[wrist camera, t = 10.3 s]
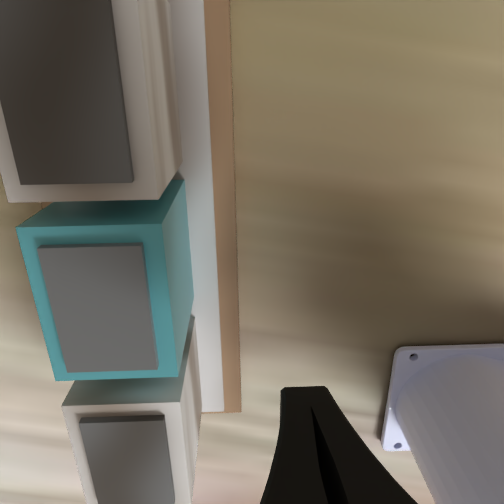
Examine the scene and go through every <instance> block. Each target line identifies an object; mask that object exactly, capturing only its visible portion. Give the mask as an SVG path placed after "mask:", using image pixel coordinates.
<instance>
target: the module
mask: <svg viewBox="0 0 504 504" xmlns="http://www.w3.org/2000/svg"><path fill="white" fill-rule="evenodd" d="M15 228H16V232H17V235H18V239H19V243H20V247H21V251H22V254H23V258H24V262H25V266H26V270H27V274H28V277H29V281H30V285H31V289H32V293H33V296H34V300H35V304H36V308H37V312H38V316H39V319H40V323H41V327H42V331H43V335H44V338H45V342H46V346H47V350H48V354H49V358H50V361H51V365H52V369H53V373H54V377H55V380H56V381H71V380H100V379H129V378H158V377H178V376H179V371H180V366H181V361H182V356H183V351H184V346H185V340H186V335H187V330H188V325H189V320H190V315H191V310H192V305H193V300H194V288H193V276H192V264H191V252H190V239H189V227H188V215H187V203H186V191H185V180H171V181H170V182H169V184H168V186H167V187H166V189H165V190H164V192H163V193H162V195H161V196H160V198H159V199H158V200H113V201H65V202H53V203H51V204H50V205H48V206H47V207H45V208H44V209H42V210H41V211H39V212H38V213H36V214H35V215H33V216H32V217H30V218H29V219H27V220H26V221H24V222H23V223H21V224H20V225H18V226H17V227H15Z"/></svg>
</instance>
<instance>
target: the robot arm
mask: <svg viewBox="0 0 504 504" xmlns="http://www.w3.org/2000/svg"><path fill="white" fill-rule="evenodd" d="M414 353H415V355H414V356H411V357H410V355H411V354H414ZM381 445H382V448H383V449H384V450H386V451H406V450H411V452H412V454H413V456H414V458H415V460H416V463H417V465H418V467H419V469H420V471H421V473H422V475H423V478H424V480H425V482H426V484H427V486H428V488H429V490H430V493H431V495H432V497H433V499H434V501H435V503H436V504H504V344H471V345H439V346H407V347H400V348H398V349H397V350H396V351H395V354H394V360H393V366H392V373H391V379H390V386H389V392H388V398H387V405H386V411H385V418H384V424H383V430H382V437H381ZM260 504H418V503H417V502H416V501H415V500H414V499H413V498H412V497H411V496H410V495H409V494H408V493H407V492H406V491H405V490H404V489H403V488H402V487H401V486H400V485H399V484H398V483H397V481H396V480H395V479H394V478H393V477H392V476H391V475H390V474H389V472H388V471H387V470H386V469H385V468H384V467H383V465H382V464H381V463H380V462H379V461H378V459H377V458H376V457H375V456H374V455H373V453H372V452H371V451H370V450H369V448H368V447H367V446H366V444H365V443H364V442H363V440H362V439H361V438H360V436H359V435H358V434H357V432H356V431H355V430H354V428H353V427H352V426H351V424H350V423H349V421H348V420H347V418H346V417H345V415H344V414H343V413H342V411H341V410H340V408H339V406H338V405H337V403H336V402H335V400H334V399H333V397H332V395H331V394H330V392H329V390H328V389H327V388H326V387H325V386H311V387H284V388H283V389H282V390H281V402H280V429H279V435H278V440H277V446H276V450H275V454H274V458H273V462H272V466H271V470H270V474H269V477H268V480H267V484H266V487H265V490H264V493H263V496H262V499H261V502H260Z"/></svg>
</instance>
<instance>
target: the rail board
mask: <svg viewBox="0 0 504 504" xmlns="http://www.w3.org/2000/svg"><path fill="white" fill-rule="evenodd" d="M0 172H1V176H2V180H3V184H4V188H5V192H6V195H7V199H8V203H17V202H41V206H42V209H44V208H45V207H47V206H48V205H50V204H51V203H53V202H65V201H113V200H158V199H159V198H160V196H161V195H162V193H163V192H164V190H165V189H166V187H167V186H168V184H169V182H170V181H171V180H185V191H186V203H187V215H188V227H189V239H190V252H191V264H192V276H193V288H194V300H193V305H192V310H191V315H190V320H189V325H188V330H187V335H186V340H185V346H184V351H183V356H182V361H181V366H180V371H179V376H178V377H158V378H129V379H100V380H75V381H74V383H73V385H72V387H71V389H70V391H69V393H68V394H67V396H66V398H65V400H64V402H63V404H62V406H61V407H62V411H63V415H64V419H65V423H66V426H67V430H68V434H69V438H70V442H71V446H72V450H73V453H74V457H75V461H76V465H77V469H78V473H79V476H80V480H81V484H82V488H83V492H84V496H85V500H86V503H87V504H192V496H193V487H194V477H195V468H196V458H197V449H198V440H199V430H200V421H201V414H204V413H233V412H241V376H240V342H239V308H238V274H237V240H236V206H235V172H234V137H233V103H232V69H231V35H230V1H229V0H0Z"/></svg>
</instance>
